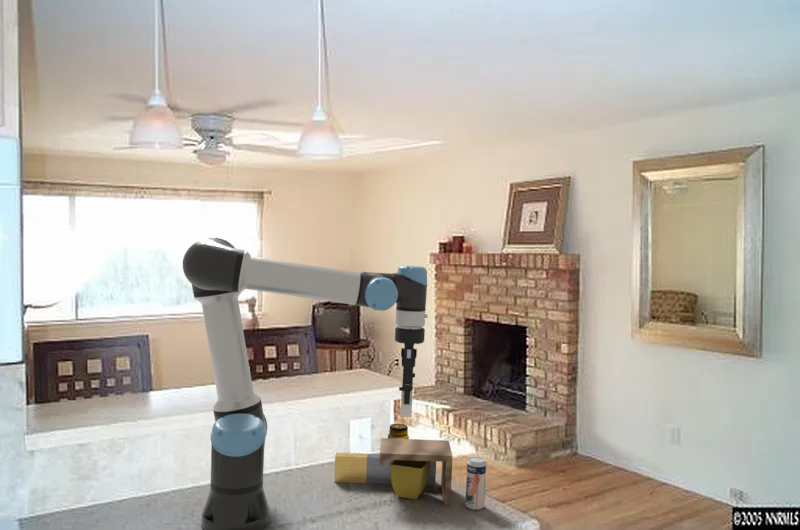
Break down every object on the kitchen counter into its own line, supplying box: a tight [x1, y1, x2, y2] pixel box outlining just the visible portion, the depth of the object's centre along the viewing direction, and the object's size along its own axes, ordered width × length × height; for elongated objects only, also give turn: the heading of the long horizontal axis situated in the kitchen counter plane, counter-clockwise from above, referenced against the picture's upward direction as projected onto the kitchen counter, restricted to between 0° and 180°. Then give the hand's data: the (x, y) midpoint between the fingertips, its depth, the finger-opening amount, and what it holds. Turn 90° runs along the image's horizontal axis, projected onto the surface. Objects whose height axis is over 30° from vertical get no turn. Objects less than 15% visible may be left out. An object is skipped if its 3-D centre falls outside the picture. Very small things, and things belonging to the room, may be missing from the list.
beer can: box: [464, 456, 487, 511], centre depth 165 cm, size 5×5×12 cm
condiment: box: [387, 422, 410, 439], centre depth 191 cm, size 7×8×12 cm
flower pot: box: [390, 460, 431, 500], centre depth 171 cm, size 9×9×9 cm
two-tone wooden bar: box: [333, 452, 437, 486], centre depth 179 cm, size 27×3×7 cm, turn 91°
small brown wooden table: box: [379, 437, 453, 506], centre depth 171 cm, size 18×12×12 cm, turn 91°
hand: (406, 409), depth 170 cm, fingers open, 13 cm apart
